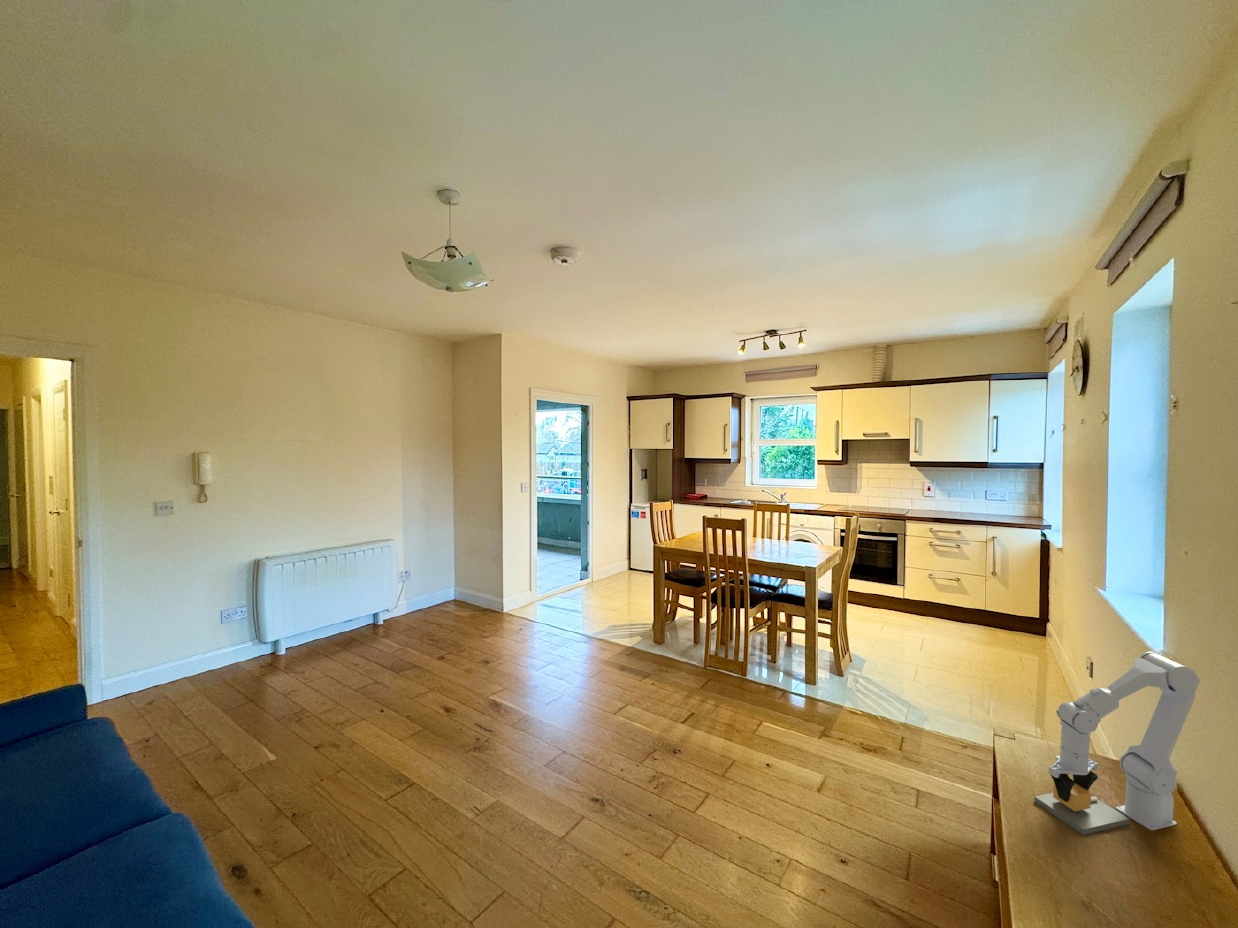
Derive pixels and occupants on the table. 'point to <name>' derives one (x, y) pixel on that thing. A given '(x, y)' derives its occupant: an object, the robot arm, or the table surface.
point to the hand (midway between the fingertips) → (1071, 797)
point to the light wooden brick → (1076, 798)
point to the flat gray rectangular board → (1084, 814)
